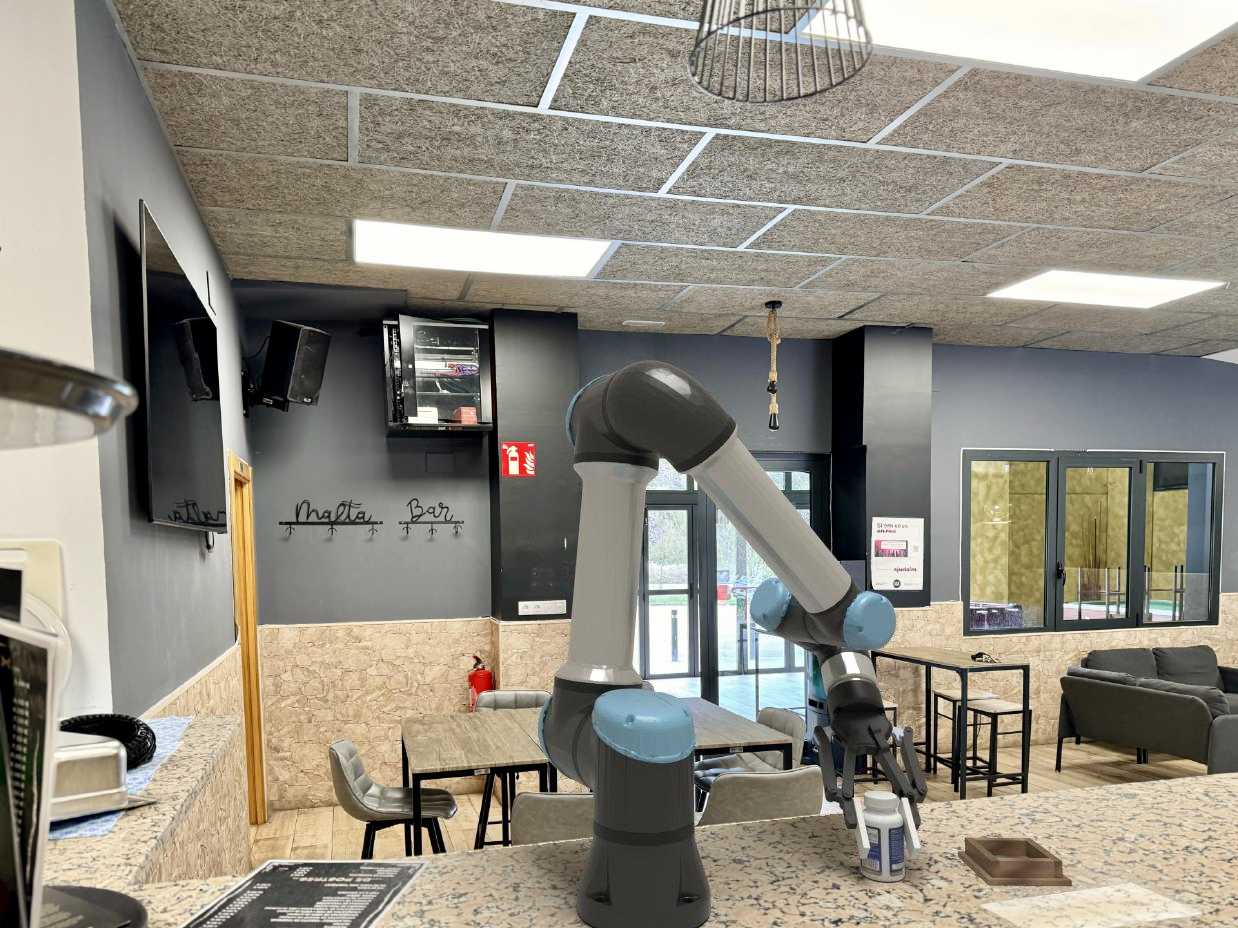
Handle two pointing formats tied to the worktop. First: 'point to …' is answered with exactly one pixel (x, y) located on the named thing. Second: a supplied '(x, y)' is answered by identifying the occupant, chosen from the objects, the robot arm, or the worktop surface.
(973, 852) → the socket block
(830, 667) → the robot arm
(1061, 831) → the worktop surface
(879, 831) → the pill bottle
